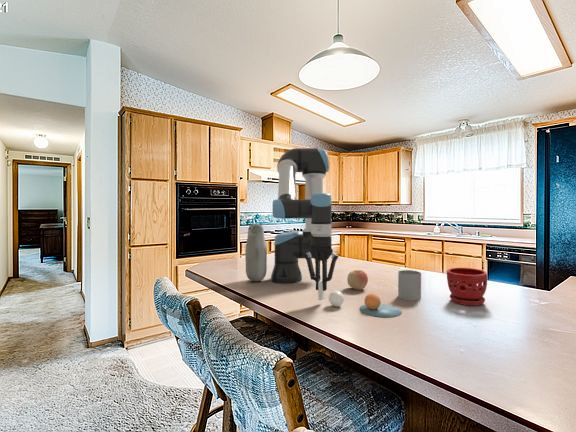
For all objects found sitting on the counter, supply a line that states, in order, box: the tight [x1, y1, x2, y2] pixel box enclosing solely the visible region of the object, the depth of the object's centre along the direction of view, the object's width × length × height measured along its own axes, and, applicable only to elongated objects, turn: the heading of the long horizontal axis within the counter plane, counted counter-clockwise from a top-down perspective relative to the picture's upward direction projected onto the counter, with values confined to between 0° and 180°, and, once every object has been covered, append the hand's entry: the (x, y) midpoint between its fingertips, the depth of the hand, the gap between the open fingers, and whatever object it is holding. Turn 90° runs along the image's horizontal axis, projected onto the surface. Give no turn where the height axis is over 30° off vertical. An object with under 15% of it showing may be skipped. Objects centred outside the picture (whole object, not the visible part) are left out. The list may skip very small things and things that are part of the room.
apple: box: [346, 269, 369, 291], centre depth 138 cm, size 9×9×8 cm
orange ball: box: [363, 293, 382, 310], centre depth 111 cm, size 6×6×6 cm
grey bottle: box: [244, 222, 268, 283], centre depth 153 cm, size 10×10×28 cm
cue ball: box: [328, 290, 345, 308], centre depth 114 cm, size 6×6×6 cm
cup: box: [397, 269, 422, 302], centre depth 125 cm, size 8×8×10 cm
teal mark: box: [359, 303, 402, 318], centre depth 110 cm, size 14×14×1 cm
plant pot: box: [446, 267, 488, 307], centre depth 119 cm, size 13×13×12 cm
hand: (321, 299), depth 117 cm, fingers closed
